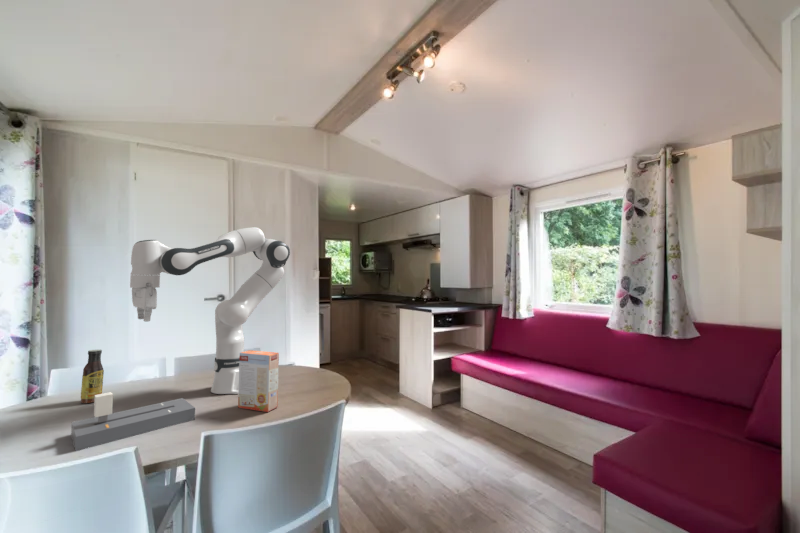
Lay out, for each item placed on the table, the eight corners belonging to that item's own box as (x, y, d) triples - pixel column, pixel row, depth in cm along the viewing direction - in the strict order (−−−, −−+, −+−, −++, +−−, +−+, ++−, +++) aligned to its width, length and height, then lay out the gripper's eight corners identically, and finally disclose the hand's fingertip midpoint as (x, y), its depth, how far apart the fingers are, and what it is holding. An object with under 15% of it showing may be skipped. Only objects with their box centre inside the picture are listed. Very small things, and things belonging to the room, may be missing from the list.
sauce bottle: (88, 404, 130) (91, 352, 131) (75, 403, 131) (78, 351, 132) (106, 399, 137) (108, 349, 137) (94, 397, 138) (96, 348, 139)
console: (182, 408, 127) (182, 397, 128) (194, 419, 118) (195, 407, 118) (71, 435, 105) (71, 421, 105) (75, 451, 96) (76, 436, 96)
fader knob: (110, 417, 108) (111, 392, 108) (111, 420, 106) (113, 394, 106) (93, 421, 105) (94, 395, 105) (94, 424, 103) (95, 397, 103)
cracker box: (278, 407, 130) (279, 352, 131) (267, 413, 124) (268, 355, 125) (249, 402, 134) (250, 349, 135) (237, 408, 129) (238, 352, 130)
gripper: (162, 283, 122) (161, 322, 122) (149, 282, 136) (147, 317, 136) (141, 283, 118) (139, 323, 117) (129, 282, 131) (127, 318, 131)
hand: (143, 320), depth 126 cm, fingers open, 8 cm apart
